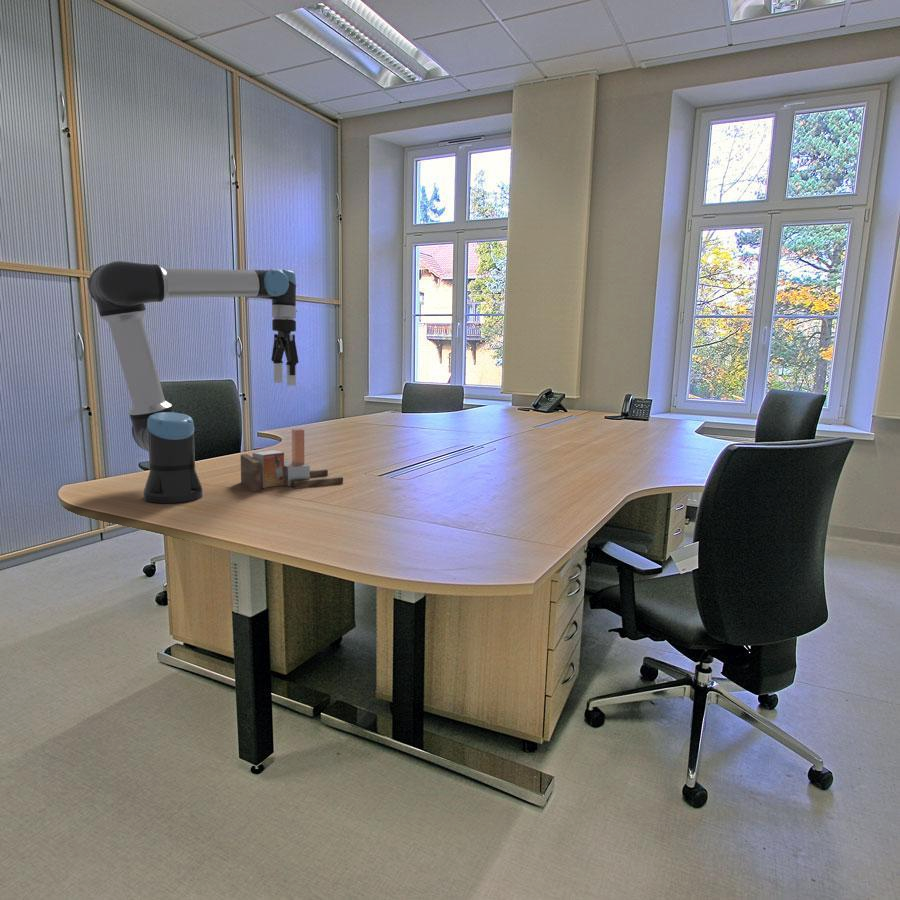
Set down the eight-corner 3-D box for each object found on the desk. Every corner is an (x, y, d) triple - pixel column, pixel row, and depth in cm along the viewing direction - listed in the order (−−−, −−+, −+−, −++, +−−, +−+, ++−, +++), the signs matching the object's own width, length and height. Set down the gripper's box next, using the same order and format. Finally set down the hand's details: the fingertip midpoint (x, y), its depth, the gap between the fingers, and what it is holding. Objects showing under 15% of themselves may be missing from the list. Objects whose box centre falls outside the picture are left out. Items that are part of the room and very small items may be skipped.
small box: (263, 488, 184) (262, 455, 182) (252, 485, 187) (251, 452, 186) (284, 484, 190) (284, 452, 189) (274, 481, 194) (273, 449, 192)
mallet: (288, 486, 187) (287, 432, 184) (278, 480, 195) (277, 428, 193) (309, 484, 191) (309, 431, 188) (298, 478, 199) (298, 427, 196)
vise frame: (254, 492, 179) (253, 462, 178) (241, 482, 191) (240, 454, 190) (343, 483, 195) (343, 456, 193) (325, 474, 207) (326, 449, 205)
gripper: (308, 319, 189) (308, 386, 192) (283, 320, 209) (283, 381, 213) (285, 317, 185) (285, 386, 188) (261, 319, 205) (262, 381, 209)
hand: (284, 384), depth 201 cm, fingers open, 13 cm apart
